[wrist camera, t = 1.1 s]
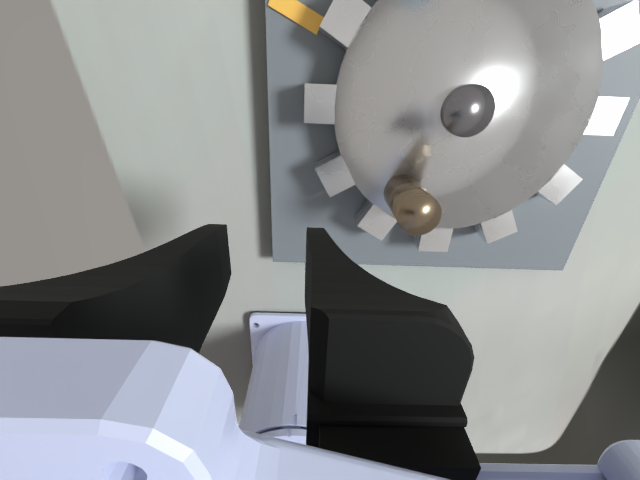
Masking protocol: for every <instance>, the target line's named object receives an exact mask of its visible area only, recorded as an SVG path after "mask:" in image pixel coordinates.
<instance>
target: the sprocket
mask: <svg viewBox="0 0 640 480" xmlns="http://www.w3.org/2000/svg"><path fill="white" fill-rule="evenodd" d="M319 31H320V32H322V33H323V34H324V35H326V36H327V37H328V38H330V39H331V40H332V41H334V42H335V43H336V44H338V45H339V46H340V47H342V48H343V49H344V50H346V52H345V54H344V57H343V60H342V63H341V65H340V68H339V73H338V77H337V81H336V85H335V84H312V83H305V91H304V123H316V124H334V128H335V136H336V140H337V144H338V147H339V151H337V152H335V153H333V154H331V155H329V156H328V157H326V158H324V159H322V160H320V161H318V162H316V163H315V171H316V172H317V174H318V176H319V178H320V180H321V182H322V184H323V185H324V187H325V189H326V191H327V193H328V195H329V197H332V196H334V195H336V194H338V193H340V192H342V191H344V190H346V189H348V188H350V187H352V186H354V185H356V186H357V188H358V189H359V190H360V191H361V193H362V194H363V195H364V196H365V197H366V198H367V199H368V200H367V201H366V202H365V204H364V205H363V206H362V208H361V209H360V210H359V212H358V213H357V215H356V216H355V220H356V223H357V226H358V227H360V228H361V229H363V230H365V231H366V232H368V233H370V234H371V235H373V236H375V237H376V238H378V239H380V240H381V241H382V240H383V239H384V237H385V236H386V235H387V234H388V232H389V231H390V230H391V229H392V227H393V226H394V225H395V224H396V222H398V224H399V226H400V227H401V229H402V230H403V231H404V232H406V233H407V234H410V235H413V239H412V241H413V243H414V245H415V246H416V248H417V250H418V251H432V252H448V248H449V244H450V240H451V236H452V232H453V229H454V228H461V227H468V226H472V225H474V226H475V229H476V232H477V234H478V235H479V236H480V237H481V238H482V239H483V240H484V241H485V242H486V243H487V244H489V243H492V242H494V241H496V240H499V239H501V238H503V237H506V236H508V235H511V234H513V233H515V232H518V231H517V227H516V223H515V219H514V216H513V212H512V209H514V208H515V207H517V206H518V205H520V204H522V203H523V202H525V201H526V200H527V199H529V198H530V197H531V196H533V195H534V194H535V193H536V194H537V195H538V196H540V197H541V198H543V199H545V200H547V201H549V202H551V203H553V204H554V205H557V204H558V203H560V202H561V201H562V200H563V199H564V198H565V197H566V196H567V195H568V194H569V193H570V192H571V191H572V190H573V189H574V188H575V187H576V186H577V185H578V184H579V183H580V182H581V181H582V180H583V179H582V178H581V177H579V176H578V175H577V174H576V173H575V172H573V171H572V170H571V169H570V168H568V167H567V166H566V165H565V163H566V161H567V160H568V158H569V157H570V156H571V154H572V153H573V151H574V150H575V148H576V147H577V145H578V143H579V142H580V140H581V138H582V136H583V135H603V136H613V135H614V133H615V130H616V128H617V126H618V123H619V121H620V119H621V116H622V114H623V112H624V110H625V107H626V105H627V103H628V100H629V98H622V97H602V96H599V92H600V87H601V82H602V77H603V66H604V60H605V59H607V58H609V57H611V56H613V55H615V54H617V53H619V52H621V51H623V50H625V49H627V48H629V47H631V46H633V45H635V44H637V43H639V42H640V29H639V13H638V0H633V1H629V2H625V3H621V4H617V5H614V6H610V7H609V8H607V9H605V10H603V11H601V12H599V13H597V10H596V7H595V4H594V2H593V0H378V1H377V2H376V3H375V4H374V5H373V7H372V8H371V7H370V6H369V5H368V4H367V3H365V2H364V1H363V0H333V2H332V3H331V5H330V7H329V9H328V11H327V13H326V15H325V17H324V19H323V21H322V22H321V24H320V26H319Z"/></svg>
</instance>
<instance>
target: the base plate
mask: <svg viewBox="0 0 640 480" xmlns="http://www.w3.org/2000/svg"><path fill="white" fill-rule="evenodd" d="M363 1H364V2H365V3H367V4H368V5H369V6H370V7H371V8H372V7H373V5H374V4H375V3H376V2H377V1H378V0H363ZM629 1H633V0H593V2H594V4H595V7H596V10H597V13H599V12H601V11H603V10H605V9H607V8H609V7H610V6H614V5H617V4H621V3H625V2H629ZM332 2H333V0H265V16H266V49H267V83H268V116H269V150H270V184H271V217H272V251H273V262H304V263H306V231H307V227H311V228H324V229H325V230H326V231H327V232H328V234H329V235H330V237H331V238H332V239H333V241H334V242H335V243H336V244H337V246H338V247H339V248H340V249H341V250H342V251H343V252H344V253H345V254H346V255H347V256H348V257H349V258H350V259H351V260H352V261H353V262H355V263H356V264H369V265H402V266H435V267H468V268H501V269H533V270H563V269H564V266H565V264H566V262H567V260H568V257H569V255H570V253H571V251H572V248H573V246H574V244H575V242H576V239H577V237H578V235H579V233H580V231H581V228H582V226H583V224H584V222H585V219H586V217H587V215H588V213H589V210H590V208H591V206H592V204H593V201H594V199H595V197H596V195H597V192H598V190H599V188H600V186H601V183H602V181H603V179H604V177H605V174H606V172H607V170H608V168H609V166H610V163H611V161H612V159H613V157H614V154H615V152H616V150H617V148H618V145H619V143H620V141H621V139H622V136H623V134H624V132H625V130H626V127H627V125H628V123H629V121H630V118H631V116H632V114H633V112H634V109H635V107H636V105H637V103H638V101H639V98H640V42H639V43H637V44H635V45H633V46H631V47H629V48H627V49H625V50H623V51H621V52H619V53H617V54H615V55H613V56H611V57H609V58H607V59H605V60H604V66H603V77H602V82H601V87H600V92H599V96H602V97H622V98H629V100H628V103H627V105H626V107H625V110H624V112H623V114H622V116H621V119H620V121H619V123H618V126H617V128H616V130H615V133H614V135H613V136H603V135H583V136H582V138H581V140H580V142H579V143H578V145H577V147H576V148H575V150H574V151H573V153H572V154H571V156H570V157H569V158H568V160H567V161H566V163H565V165H566V166H567V167H568V168H570V169H571V170H572V171H573V172H575V173H576V174H577V175H578V176H579V177H581V178H582V179H583V180H582V181H581V182H580V183H579V184H578V185H577V186H576V187H575V188H574V189H573V190H572V191H571V192H570V193H569V194H568V195H567V196H566V197H565V198H564V199H563V200H562V201H561V202H560V203H558V204H557V205H554V204H553V203H551V202H549V201H547V200H545V199H543V198H541V197H540V196H538V195H537V194H536V193H535V194H534V195H533V196H531V197H530V198H529V199H527V200H526V201H525V202H523V203H522V204H520V205H518V206H517V207H515V208H514V209H512V212H513V216H514V219H515V223H516V227H517V231H518V232H515V233H513V234H511V235H508V236H506V237H503V238H501V239H499V240H496V241H494V242H492V243H489V244H487V243H486V242H485V241H484V240H483V239H482V238H481V237H480V236H479V235H478V234H477V232H476V229H475V226H474V225H472V226H468V227H461V228H454V229H453V232H452V236H451V240H450V244H449V248H448V252H432V251H418V250H417V248H416V246H415V245H414V243H413V241H412V239H413V235H410V234H407V233H406V232H404V231H403V230H402V229H401V227H400V226H399V224H398V222H396V224H395V225H394V226H393V227H392V229H391V230H390V231H389V232H388V234H387V235H386V236H385V237H384V239H383V240H382V241H381V240H380V239H378V238H376V237H375V236H373V235H371V234H370V233H368V232H366V231H365V230H363V229H361V228H360V227H358V226H357V223H356V220H355V216H356V215H357V213H358V212H359V210H360V209H361V208H362V206H363V205H364V204H365V202H366V201H367V200H368V199H367V198H366V197H365V196H364V195H363V194H362V193H361V191H360V190H359V189H358V188H357V186H356V185H354V186H352V187H350V188H348V189H346V190H344V191H342V192H340V193H338V194H336V195H334V196H332V197H329V195H328V193H327V191H326V189H325V187H324V185H323V184H322V182H321V180H320V178H319V176H318V174H317V172H316V171H315V163H316V162H318V161H320V160H322V159H324V158H326V157H328V156H329V155H331V154H333V153H335V152H337V151H339V147H338V144H337V140H336V136H335V128H334V124H316V123H304V91H305V83H312V84H335V85H336V81H337V77H338V73H339V68H340V65H341V63H342V60H343V57H344V54H345V52H346V50H344V49H343V48H342V47H340V46H339V45H338V44H336V43H335V42H334V41H332V40H331V39H330V38H328V37H327V36H326V35H324V34H323V33H322V32H320V31H319V26H320V24H321V22H322V21H323V19H324V17H325V15H326V13H327V11H328V9H329V7H330V5H331V3H332ZM638 13H639V29H640V0H638Z"/></svg>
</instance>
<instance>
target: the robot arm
mask: <svg viewBox="0 0 640 480" xmlns="http://www.w3.org/2000/svg"><path fill="white" fill-rule="evenodd" d="M230 276H231V266H230V256H229V246H228V235H227V225H221V224H208V225H205V226H202V227H200V228H197V229H195V230H193V231H191V232H189V233H187V234H184V235H182V236H180V237H178V238H176V239H174V240H172V241H170V242H167V243H165V244H163V245H160V246H158V247H156V248H153V249H151V250H149V251H146V252H144V253H142V254H139V255H137V256H134V257H131V258H128V259H125V260H122V261H119V262H116V263H113V264H109V265H106V266H102V267H98V268H95V269H91V270H87V271H83V272H79V273H75V274H71V275H67V276H61V277H57V278H52V279H46V280H41V281H35V282H30V283H24V284H17V285H10V286H2V287H0V480H640V440H624V441H619V442H616V443H614V444H611V445H610V446H609V447H608V448H607V449H605V451H604V452H603V453H602V455H601V457H600V459H599V461H598V464H597V465H561V464H493V463H492V464H490V463H479V462H478V459H477V457H476V455H475V452H474V450H473V447H472V445H471V443H470V440H469V438H468V436H467V433H466V431H465V429H464V427H466V426H467V417H466V414H465V412H464V410H463V408H462V405H461V400H462V397H463V394H464V391H465V388H466V386H467V383H468V380H469V377H470V374H471V372H472V367H473V361H474V355H473V350H472V345H471V343H470V342H469V340H468V338H467V336H466V335H465V333H464V331H463V329H462V328H461V326H460V324H459V323H458V321H457V319H456V318H455V317H454V315H453V314H452V312H451V311H450V309H449V308H448V307H447V305H444V304H440V303H437V302H434V301H431V300H427V299H424V298H421V297H418V296H415V295H412V294H410V293H407V292H405V291H402V290H400V289H398V288H395V287H393V286H391V285H389V284H387V283H385V282H383V281H382V280H380V279H378V278H376V277H374V276H373V275H371V274H370V273H368V272H367V271H365V270H364V269H363V268H361V267H360V266H358V265H357V264H356V263H355V262H353V261H352V260H351V259H350V258H349V257H348V256H347V255H346V254H345V253H344V252H343V251H342V250H341V249H340V248H339V247H338V246H337V244H336V243H335V242H334V241H333V239H332V238H331V237H330V235H329V234H328V232H327V231H326V230H325V229H324V228H311V227H307V231H306V268H305V308H306V314H296V313H259V312H256V313H252V314H251V315H250V318H249V325H250V338H251V351H252V364H253V368H252V372H251V376H250V381H249V385H248V390H247V394H246V399H245V403H244V407H243V412H242V416H241V421H240V425H238V422H237V419H236V412H235V404H234V395H233V392H232V390H231V388H230V386H229V384H228V382H227V380H226V378H225V376H224V374H223V372H222V370H221V369H220V368H219V367H218V366H217V365H215V364H214V363H212V362H211V361H209V360H208V359H206V358H205V357H203V356H202V355H200V354H199V351H200V349H201V346H202V344H203V342H204V340H205V338H206V335H207V333H208V331H209V329H210V327H211V325H212V323H213V320H214V318H215V316H216V314H217V312H218V310H219V308H220V305H221V303H222V301H223V299H224V296H225V294H226V290H227V287H228V284H229V280H230ZM254 323H258V324H259V325H255V324H254Z"/></svg>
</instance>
